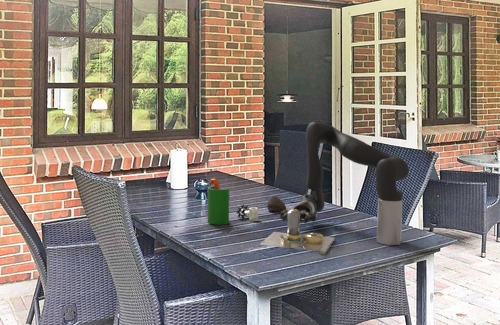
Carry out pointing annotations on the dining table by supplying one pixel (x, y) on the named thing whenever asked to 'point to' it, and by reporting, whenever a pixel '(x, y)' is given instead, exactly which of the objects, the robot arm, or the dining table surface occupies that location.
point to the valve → (248, 212)
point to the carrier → (300, 242)
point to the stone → (275, 204)
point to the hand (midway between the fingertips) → (294, 219)
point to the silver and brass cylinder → (293, 225)
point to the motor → (218, 204)
